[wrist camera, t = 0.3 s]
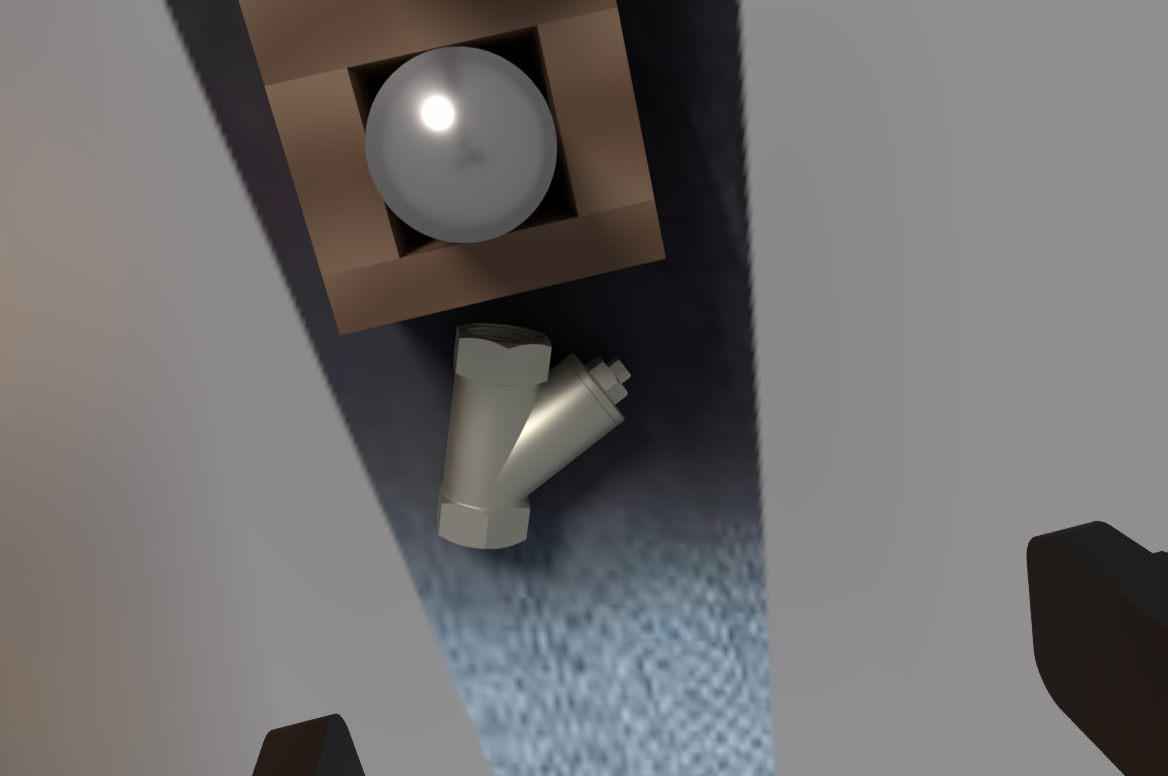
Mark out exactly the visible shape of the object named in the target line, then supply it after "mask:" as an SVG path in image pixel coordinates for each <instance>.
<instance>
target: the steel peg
mask: <svg viewBox="0 0 1168 776" xmlns="http://www.w3.org/2000/svg"><path fill="white" fill-rule="evenodd" d="M365 148H366V158H367V162H368V167H369V171H370V174H371V176H372V179H373V182H374V184H375V186H376V188H377V190H378V192H379V194H380V195H381V197H382V198H383V200H384V201H385V203H386V204H387V205H388V206H389V208H390V209H391V210H392V211H393V212H394V213H395V214H396V215H397V216H398V217H399V218H400V219H401V220H402V221H404V222H405V223H406V224H408V225H409V226H411V227H412V228H413V229H415V230H417V231H419V232H421V233H423V234H425V235H427V236H430V237H433V238H435V239H438V240H443V241H447V242H455V243H475V242H481V241H486V240H490V239H493V238H496V237H499V236H501V235H503V234H505V233H507V232H509V231H511V230H512V229H514V228H516V227H517V226H519V225H520V224H521V223H522V222H523V221H525V220H526V219H527V218H528V217H529V216H530V215H531V214H532V213H533V212H534V211H535V209H536V208H537V207H538V205H539V204H540V202H541V201H542V200H543V198H544V196H545V194H546V192H547V190H548V188H549V186H550V183H551V180H552V178H553V174H554V170H555V165H556V157H557V138H556V132H555V126H554V122H553V119H552V115H551V112H550V110H549V108H548V105H547V103H546V101H545V99H544V98H543V96H542V94H541V93H540V91H539V90H538V88H537V87H536V86H535V84H534V83H533V82H532V80H531V79H530V78H529V77H528V76H527V75H526V74H525V73H524V72H523V71H521V70H520V69H519V68H517V67H516V66H515V65H514V64H512V63H511V62H509V61H507V60H506V59H504V58H502V57H500V56H498V55H496V54H493V53H491V52H488V51H485V50H481V49H477V48H470V47H445V48H439V49H435V50H431V51H428V52H425V53H423V54H421V55H418V56H416V57H414V58H412V59H411V60H409V61H408V62H406V63H405V64H403V65H402V66H401V67H400V68H398V69H397V70H396V71H395V72H394V73H393V74H392V75H391V76H390V77H389V78H388V79H387V81H386V82H385V83H384V84H383V86H382V87H381V89H380V91H379V92H378V94H377V96H376V98H375V100H374V102H373V104H372V107H371V110H370V113H369V116H368V121H367V126H366V135H365Z"/></svg>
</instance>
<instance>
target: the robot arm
mask: <svg viewBox="0 0 1168 776" xmlns="http://www.w3.org/2000/svg"><path fill="white" fill-rule="evenodd" d="M1027 570H1028V583H1029V596H1030V609H1031V621H1032V634H1033V646H1034V655H1035V660H1036V664H1037V667H1038V670H1039V673H1040V676H1041V678H1042V680H1043V682H1044V685H1045V687H1046V689H1047V690H1048V692H1049V694H1050V695H1051V697H1052V699H1053V700H1054V701H1055V703H1056V704H1057V705H1058V706H1059V708H1060V709H1061V710H1062V711H1063V712H1064V713H1065V714H1066V715H1067V716H1068V717H1069V718H1070V719H1071V720H1072V721H1073V722H1074V723H1075V725H1076V726H1077V727H1078V728H1079V729H1080V730H1081V731H1082V732H1083V733H1084V734H1085V735H1086V736H1087V737H1088V738H1089V739H1090V740H1091V741H1092V742H1093V743H1094V744H1095V745H1096V746H1097V747H1098V748H1099V749H1100V750H1101V751H1102V752H1103V753H1104V755H1105V756H1106V757H1107V758H1109V760H1110V761H1111V762H1112V763H1114V765H1115V766H1116V767H1117V768H1118V769H1119V770H1120V771H1121V772H1122V773H1123V774H1124V775H1125V776H1168V553H1167V552H1164V551H1160V552H1157V553H1151V552H1150V551H1148V550H1147V549H1145V548H1144V547H1142V546H1140V545H1139V544H1138V543H1136V542H1135V541H1133V540H1132V539H1130V538H1129V537H1127V536H1126V535H1124V534H1122V533H1121V532H1120V531H1118V530H1117V529H1115V528H1113V527H1112V526H1110V525H1109V524H1107V523H1105V522H1101V521H1094V522H1090V523H1086V524H1083V525H1079V526H1075V527H1071V528H1067V529H1063V530H1059V531H1055V532H1052V533H1047V534H1043V535H1040V536H1036V537H1033V538H1032V539H1031V540H1030V542H1029V543H1028V547H1027ZM252 776H365V774H364V772H363V768H362V766H361V763H360V760H359V757H358V755H357V752H356V749H355V746H354V743H353V741H352V738H351V735H350V732H349V730H348V727H347V725H346V723H345V721H344V720H343V718H342V717H341V716H340V715H339V714H333V715H328V716H324V717H320V718H316V719H312V720H308V721H305V722H301V723H297V724H293V725H289V726H285V727H282V728H277V729H274V730H271V731H269V732H268V734H267V735H266V737H265V740H264V742H263V746H262V749H261V751H260V754H259V757H258V760H257V763H256V766H255V768H254V772H253V774H252Z"/></svg>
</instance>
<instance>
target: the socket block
mask: <svg viewBox="0 0 1168 776" xmlns="http://www.w3.org/2000/svg"><path fill="white" fill-rule="evenodd" d="M239 3H240V6H241V9H242V13H243V16H244V19H245V23H246V26H247V29H248V33H249V36H250V39H251V43H252V46H253V49H254V52H255V56H256V59H257V62H258V66H259V69H260V72H261V76H262V79H263V82H264V85H265V89H266V92H267V95H268V99H269V102H270V105H271V109H272V112H273V115H274V118H275V122H276V125H277V128H278V132H279V135H280V138H281V142H282V145H283V148H284V152H285V155H286V158H287V161H288V165H289V168H290V171H291V175H292V178H293V181H294V185H295V188H296V191H297V194H298V198H299V201H300V204H301V208H302V211H303V214H304V218H305V221H306V224H307V227H308V231H309V234H310V237H311V241H312V244H313V247H314V251H315V254H316V257H317V260H318V264H319V267H320V270H321V274H322V277H323V280H324V284H325V287H326V290H327V294H328V297H329V300H330V303H331V307H332V310H333V313H334V317H335V320H336V323H337V327H338V330H339V333H340V335H343V334H347V333H351V332H355V331H360V330H364V329H368V328H372V327H377V326H381V325H385V324H389V323H394V322H398V321H402V320H407V319H411V318H415V317H419V316H424V315H428V314H432V313H436V312H441V311H445V310H449V309H453V308H458V307H462V306H466V305H470V304H475V303H479V302H483V301H487V300H492V299H496V298H500V297H504V296H509V295H513V294H517V293H521V292H526V291H530V290H534V289H538V288H543V287H547V286H551V285H555V284H560V283H564V282H568V281H572V280H577V279H581V278H585V277H589V276H594V275H598V274H602V273H606V272H611V271H615V270H619V269H623V268H628V267H632V266H636V265H640V264H645V263H649V262H653V261H657V260H662V259H666V257H665V252H664V246H663V241H662V236H661V231H660V226H659V221H658V215H657V210H656V205H655V200H654V195H653V189H652V184H651V179H650V174H649V169H648V163H647V158H646V153H645V148H644V143H643V138H642V132H641V127H640V122H639V117H638V112H637V106H636V101H635V96H634V91H633V86H632V80H631V75H630V70H629V65H628V60H627V55H626V49H625V44H624V39H623V34H622V29H621V23H620V18H619V13H618V8H617V3H616V0H239ZM445 47H470V48H477V49H481V50H485V51H488V52H491V53H493V54H496V55H498V56H500V55H505V54H509V53H514V52H518V51H523V50H525V51H526V55H527V60H528V64H529V69H530V73H531V77H532V82H533V83H534V84H535V86H536V87H537V88H538V90H539V91H540V93H541V94H542V96H543V98H544V99H545V101H546V103H547V105H548V108H549V110H550V112H551V115H552V119H553V122H554V126H555V132H556V138H557V157H556V165H555V170H554V174H553V176H554V181H555V185H556V190H557V194H558V198H557V199H553V200H548V201H544V202H540V204H539V205H538V207H537V208H536V209H535V211H534V212H533V213H532V214H531V215H530V216H529V217H528V218H527V219H526V220H525V221H523V222H522V223H521V224H520V225H519V226H517V227H516V228H514V229H512V230H511V231H509V232H507V233H505V234H503V235H501V236H499V237H496V238H493V239H490V240H486V241H481V242H475V243H455V242H447V241H443V240H438V239H435V238H433V237H430V236H427V235H425V234H423V233H421V232H419V231H417V230H415V229H413V228H412V227H411V226H409V225H408V224H406V223H405V222H404V221H402V220H401V219H400V218H399V217H398V216H397V215H396V214H395V213H394V212H393V211H392V210H391V209H390V208H389V206H388V205H387V204H386V203H385V201H384V200H383V198H382V197H381V195H380V194H379V192H378V190H377V188H376V186H375V184H374V182H373V179H372V176H371V174H370V171H369V167H368V162H367V158H366V148H365V135H366V126H367V121H368V116H369V113H370V110H371V107H372V104H373V102H374V100H375V98H376V96H377V94H378V92H379V91H380V89H381V88H380V84H379V83H380V82H385V81H387V79H388V78H389V77H390V76H391V75H392V74H393V73H394V72H395V71H396V70H397V69H398V68H400V67H401V66H402V65H403V64H405V63H406V62H408V61H409V60H411V59H412V58H414V57H416V56H418V55H421V54H423V53H425V52H428V51H431V50H435V49H439V48H445Z"/></svg>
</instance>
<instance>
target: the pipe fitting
mask: <svg viewBox="0 0 1168 776" xmlns="http://www.w3.org/2000/svg"><path fill="white" fill-rule="evenodd" d="M551 349H552V346H551V342H550V340H549V337H548V336H547V335H545V334H543V333H541V332H539V331H536V330H533V329H529V328H525V327H520V326H515V325H508V324H500V323H484V322H478V323H467V324H463V325H460V326H457V330H456V339H455V349H454V358H453V363H454V372H455V378H454V387H453V396H452V406H451V415H450V425H449V434H448V443H447V453H446V462H445V472H444V481H443V483H442V484H440V491H439V500H438V510H437V529H438V535H439V536H441V537H443V538H445V539H447V540H449V541H451V542H453V543H456V544H459V545H462V546H466V547H471V548H477V549H499V548H505V547H509V546H512V545H515V544H518V543H520V542H522V541H524V540H526V537H527V529H528V522H529V514H530V504H529V498H528V495H529V494H530V493H532V492H533V491H534V490H535V489H537V488H538V487H539V486H541V485H542V484H543V483H544V482H546V481H547V480H548V479H550V478H551V477H552V476H553V475H555V474H556V473H557V472H558V471H560V470H561V469H562V468H564V467H565V466H566V465H567V464H569V463H570V462H571V461H573V460H574V459H575V458H576V457H578V456H579V455H580V454H581V453H583V452H584V451H585V450H587V449H588V448H589V447H590V446H592V445H593V444H594V443H596V442H597V441H598V440H599V439H601V438H602V437H603V436H605V435H606V434H607V433H608V432H610V431H611V430H612V429H613V428H615V427H616V426H617V425H619V424H620V423H621V422H622V421H624V419H625V418H624V416H623V415H622V413H621V412H620V411H619V409H618V408H617V407H616V404H617V403H618V402H619V401H621V400H622V399H623V398H624V397H626V396H627V395H628V393H627V390H626V389H625V388H624V386H623V385H622V383H623V382H625V381H626V380H627V379H628V378H630V377H631V375H630V373H629V372H628V370H627V369H626V368H625V367H624V365H623V364H622V363H621V362H620V360H619V359H618V358H617V357H615V358H614V359H612V360H611V361H610V362H608V363H607V364H605V362H604V361H603V360H602V358H601V357H599V356H596V357H595V358H594V359H592V360H591V361H590V362H589V363H587V364H586V365H583V364H582V362H581V361H580V360H579V359H578V357H577V356H576V355H575V354H574V353H571V354H570V355H568V356H567V357H566V358H565V359H564V360H562V361H561V362H560V363H558V364H557V365H556V366H555V367H553V368H552V369H551V370H549V364H550V357H551Z"/></svg>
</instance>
